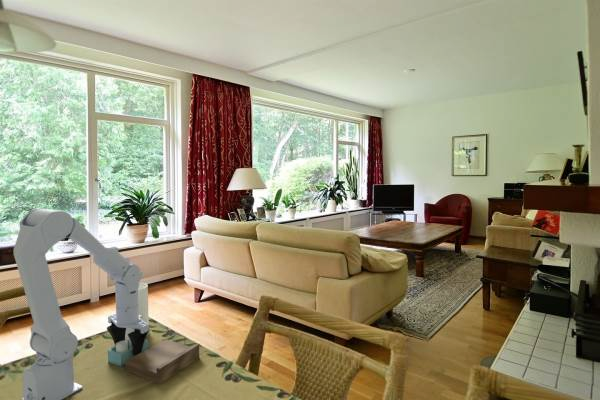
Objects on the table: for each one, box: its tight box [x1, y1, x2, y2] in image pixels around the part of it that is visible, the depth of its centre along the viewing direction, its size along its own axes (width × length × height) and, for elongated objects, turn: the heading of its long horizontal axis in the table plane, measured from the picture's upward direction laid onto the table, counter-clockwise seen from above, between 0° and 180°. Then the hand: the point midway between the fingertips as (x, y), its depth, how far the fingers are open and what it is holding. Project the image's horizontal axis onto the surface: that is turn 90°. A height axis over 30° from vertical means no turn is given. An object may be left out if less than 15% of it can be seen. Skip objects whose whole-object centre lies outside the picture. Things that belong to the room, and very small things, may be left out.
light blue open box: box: [107, 338, 150, 368], centre depth 102 cm, size 9×5×5 cm, turn 153°
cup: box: [125, 282, 150, 341], centre depth 114 cm, size 8×8×16 cm
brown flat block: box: [124, 339, 200, 385], centre depth 98 cm, size 14×13×4 cm
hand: (128, 351), depth 102 cm, fingers open, 7 cm apart
